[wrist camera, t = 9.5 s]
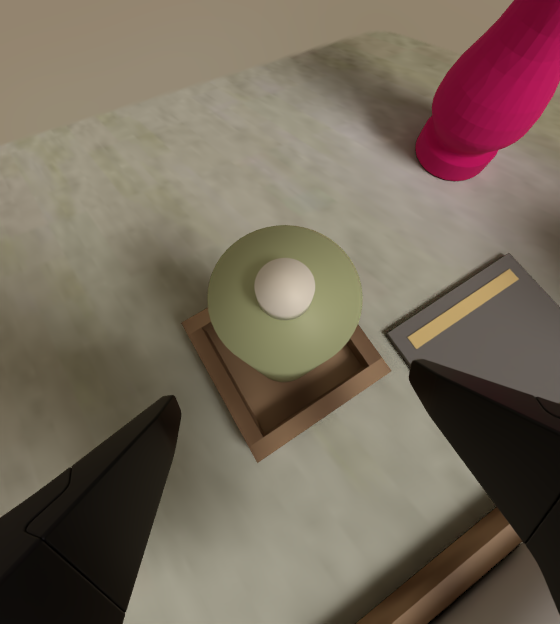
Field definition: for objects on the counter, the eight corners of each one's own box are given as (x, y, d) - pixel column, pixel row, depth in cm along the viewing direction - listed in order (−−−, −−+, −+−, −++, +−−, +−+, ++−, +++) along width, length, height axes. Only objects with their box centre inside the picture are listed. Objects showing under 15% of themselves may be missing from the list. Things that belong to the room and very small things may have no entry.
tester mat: (501, 491, 17) (507, 493, 17) (385, 334, 20) (387, 332, 20) (627, 387, 19) (636, 387, 19) (505, 255, 22) (509, 252, 21)
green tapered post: (294, 394, 18) (317, 406, 6) (240, 360, 19) (167, 313, 7) (325, 339, 19) (396, 259, 7) (273, 309, 20) (258, 188, 8)
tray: (259, 454, 18) (257, 462, 16) (190, 328, 20) (181, 322, 18) (380, 372, 19) (391, 371, 17) (303, 263, 22) (305, 251, 20)
